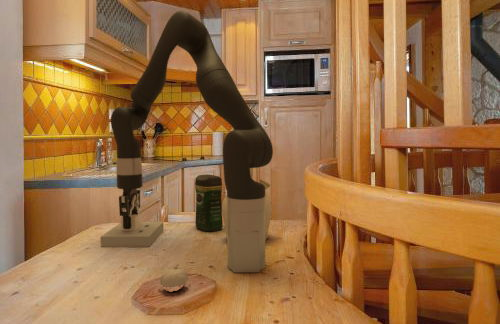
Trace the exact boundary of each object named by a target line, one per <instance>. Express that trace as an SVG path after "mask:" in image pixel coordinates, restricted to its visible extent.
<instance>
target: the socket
mask: <svg viewBox="0 0 500 324" xmlns="http://www.w3.org/2000/svg"><path fill="white" fill-rule="evenodd" d="M163 232H164V221H144V222H143V221H140V228H138V229H137V230H136V231H121V222H120V223H118V224H117V225H115V226H114V227H112V228H110V229H109V230H108V231H107V232H105V233H104V234H102V235H101V236H100V247H101V248H107V247H108V248H109V247H110V248H114V247H117V248H118V247H119V248H120V247H121V248H126V247H127V248H128V247H129V248H131V247H132V248H136V247H138V248H139V247H141V248H144V247H147V248H149V247H151V246H152V245H153V244H154V243H155V241H156V240H157V239H158V238H159V237H160V235H161V234H162V233H163Z"/></svg>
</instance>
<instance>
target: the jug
mask: <svg viewBox="0 0 500 324" xmlns="http://www.w3.org/2000/svg"><path fill="white" fill-rule="evenodd" d="M250 174H251V178H252V179H253V176H254V168H250ZM258 183H261V184H263V185H264V186H265V241H267V238H268V234H269V228H270V224H271V219H272V211H273V209H272V208H273V207H272V201H271V198H270V196H269V195H268V193H267V192H266V190H267V189H268V188H270V187H271V184H270V183H269V182H267V180H264V179H263V178H260V179H259V182H258ZM225 190H226V191H227V189H226V188H225ZM222 221H223V226H224V230H225V233H226V235H227V194H226V195H225V197H224V199H223V201H222Z"/></svg>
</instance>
